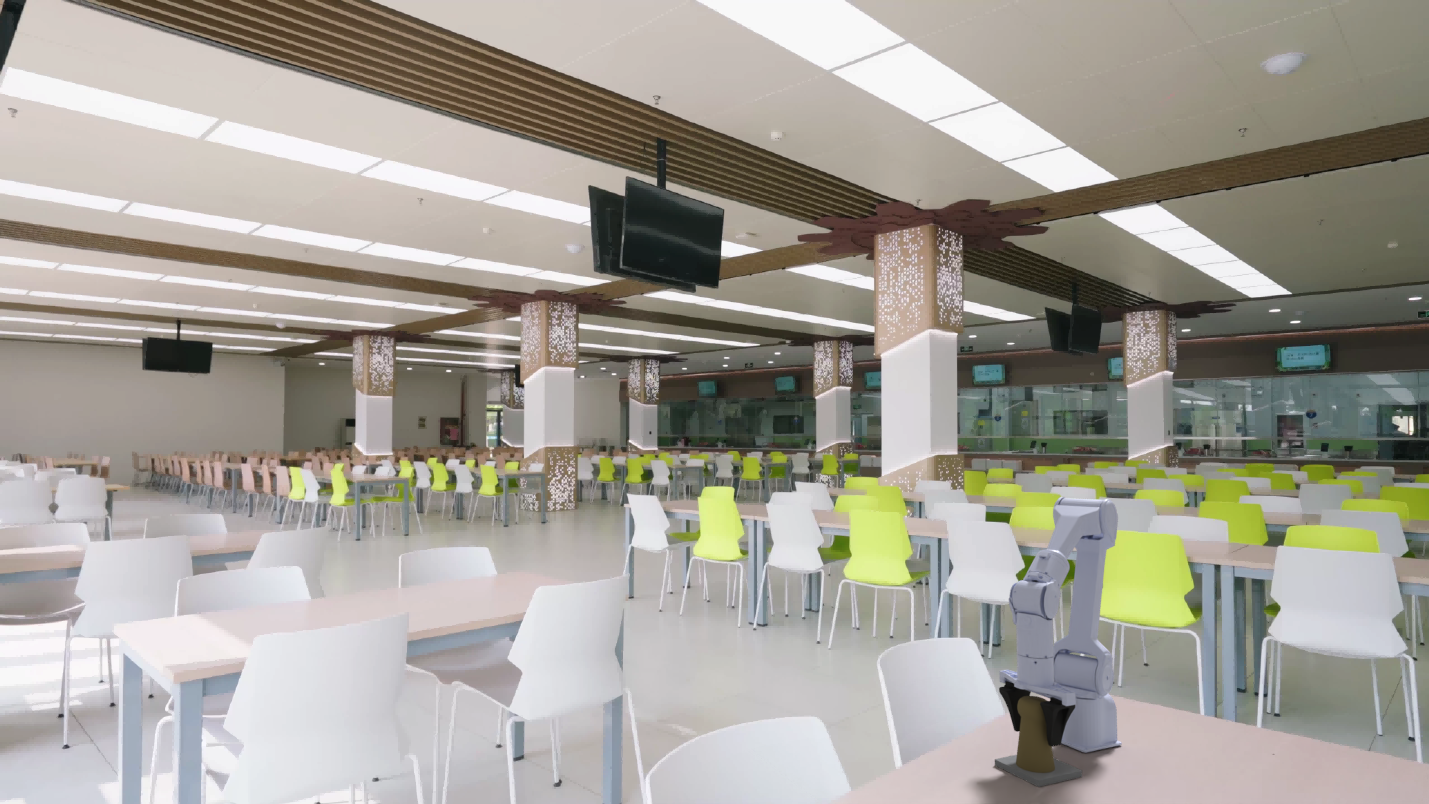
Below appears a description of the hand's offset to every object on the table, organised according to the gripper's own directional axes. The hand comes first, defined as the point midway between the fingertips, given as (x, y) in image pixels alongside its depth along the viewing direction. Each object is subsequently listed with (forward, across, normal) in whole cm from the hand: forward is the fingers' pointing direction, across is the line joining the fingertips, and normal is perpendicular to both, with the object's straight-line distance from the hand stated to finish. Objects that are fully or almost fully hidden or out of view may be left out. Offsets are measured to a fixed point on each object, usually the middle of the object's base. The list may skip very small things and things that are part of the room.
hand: (1036, 737), depth 134 cm
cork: (+5, 0, -1) cm, 5 cm away
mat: (+5, 0, 0) cm, 5 cm away
